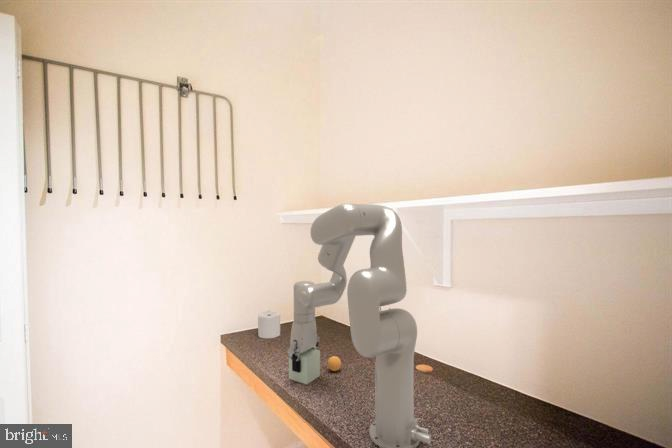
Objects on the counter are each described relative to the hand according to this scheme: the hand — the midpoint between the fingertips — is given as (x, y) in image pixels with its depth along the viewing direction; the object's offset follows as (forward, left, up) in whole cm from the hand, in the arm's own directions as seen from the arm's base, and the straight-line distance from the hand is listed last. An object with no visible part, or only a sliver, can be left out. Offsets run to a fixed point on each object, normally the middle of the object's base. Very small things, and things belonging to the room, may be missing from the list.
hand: (304, 366), depth 114 cm
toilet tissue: (+43, -27, -4) cm, 51 cm away
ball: (-6, -10, -1) cm, 12 cm away
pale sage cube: (0, 0, -4) cm, 4 cm away
